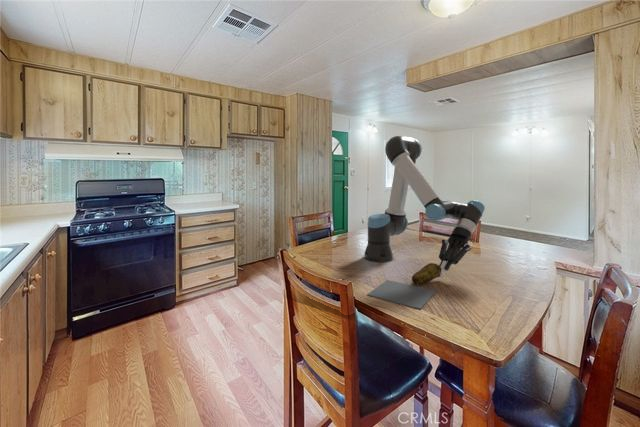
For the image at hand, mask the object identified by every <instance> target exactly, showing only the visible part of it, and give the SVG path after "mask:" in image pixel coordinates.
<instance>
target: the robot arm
mask: <svg viewBox="0 0 640 427" xmlns="http://www.w3.org/2000/svg"><path fill="white" fill-rule="evenodd" d="M384 149H385V150H384V151H385V152H384V153H385V155H386V157H387V159H388V161H389V162H390V164H391V165H392V166H393V167H394V171H393V177H392V178H393V179H392V182H391V183H392V185H391V190H390V195H389V196H390V197H389V200H388V206H387V208H386V209H385V211H384V213H375V214H372V215H369V216H368V219H367V245H366V248H365V251H364V256H365V257H364V259H365V258H367V259H369V260H368V261H371V260H373V261H372V262H378V261H384V262H389V260H390V261H392V260H393V259H394V254H393V251H392V248H391V247H392V246H391V245H390V244H391V243H390V242H391V239H390V238H391V237H393V236H397V235H398V236H399V235H400V234H403V233H404V232H406V230H407V229H408V225H409V220H408V219H407V212H406V211H405V207H406V200H407V196H408V189H409V187H410V189H411V190H412V191H413V193H414V194H415V195H416V197H417V198H418V200H419V201H420V203H421V204H422V205H423V207H424V209H425V211H424V214H425V216H426V218H427V219H428V220H430V221H433V222H435V221H437V222H438V221H442V220H444V219H445V220H446V219H450V218H452V219H456V220H458V221H457V222H456V224H455V226H454V227H453V230H452V232H451V234H450V236H449V237H448V238H447V239H441V247H440V251H439V254H438V255H439V256H438V259H439V260H440V263H439V264H438V265H439V266H440V267H441V274H440V277H439V278H443V277H444V275H445V274H446V272H447V271H449V270H450V268H451V266H452V265H457V264H458V263H459V262H460V261H461V260H462V259H463V257H464V256H465V255H466V254H467V253H468V252H469V251H471V250H472V247H471V246H470V244H469V242H470V239H471V237H472V235H473V233H474V232H475V229H476V227H477V225H478V224H479V222H480V220H481V218H482V217H483V214H484V212H485V205H484V204H483V202H480V201H479V200H475V199H473V200H472V199H471V200H469V201H468V202H467V203H461V202H456V201H451V200H448V199H446V200H445V199H441V198H439V197H440V196H438V194H437V193H436V192H435V190H434V189H433V188H432V186H431V184H430V183H429V182H428V180H427V179H426V178H425V176H424V175H423V174H422V171H420V170H419V168H418V167H417V165H416V162H417V161H416V160H417V159H418V158H419V157H420V156H421V154H422V149H423V148H422V145H421V143H420V141H419V140H418V139H416V138H413V137H409V136H402V135H396V136H393V137H391V138H389V140H387V142H386V144H385V148H384ZM367 259H366V260H367Z"/></svg>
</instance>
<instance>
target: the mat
mask: <svg viewBox="0 0 640 427" xmlns="http://www.w3.org/2000/svg"><path fill="white" fill-rule="evenodd" d="M436 292H437V291H436V290H434V289H430V288H426V287H421V286H416V285H413V284H412V285H411V284H407V283H402V282H398V281H393V280H389V279H385V281H384V282H383V283H381V284H379V285H378V286H377V287H375V288H374V289H373V290H371V291H370V292H368V293H367V294H366V295H367V296H369V297H373V298H376V299H380V300H383V301H387V302H391V303H394V304H399V305H401V306H402V305H403V306H406V307H410V308H413V309H418V310H422V309H423V308H424V307H425V305H427V303H428V302H429V300H430V299H432V297H433V296H434V295H435V293H436Z"/></svg>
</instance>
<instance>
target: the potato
mask: <svg viewBox="0 0 640 427" xmlns="http://www.w3.org/2000/svg"><path fill="white" fill-rule="evenodd" d="M439 265H440V264H437V263H434V262H431V263H430V262H429V263H427V264H426V265H424V266H423V267H422V268H421V269H420V270H418V271H416V272H415V273H414V274H413V275H412V276H411V282H412V283H413V284H415V285H423V284H426V283H429V282H431V281H433V280H435V279H437V278H441V277H440V274H441V267H440V266H439Z"/></svg>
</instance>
